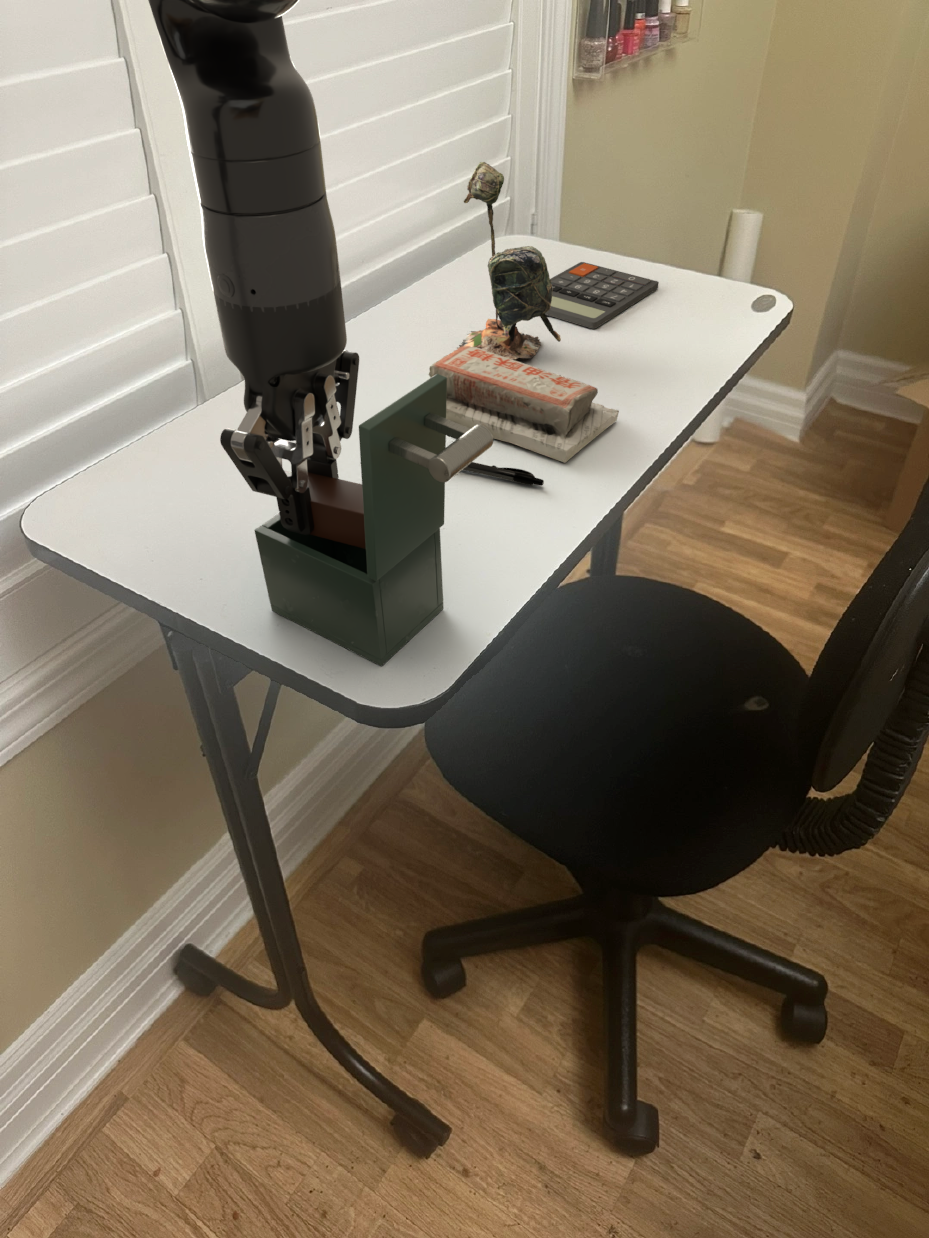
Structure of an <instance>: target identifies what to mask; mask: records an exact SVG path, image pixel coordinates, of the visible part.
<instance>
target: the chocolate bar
mask: <svg viewBox="0 0 929 1238" xmlns="http://www.w3.org/2000/svg"><path fill="white" fill-rule="evenodd" d="M307 474H308V485H307V486H308V487H309V489H310V496H311V501H310V503H311V509H312V515H313V522H314V529H313V531H312V532H311V533H310V535H314V536H317V537H321V538H325V539H329V540H333V541H337V542H341V543H345V544H348V545H352V546H356V547H360V548H364V549H366V543H365V526H364V509H363V492H362V483H358V482H353V481H349V480H345V479H341V478H338V479H337V478H330V477H326V476H322V475H317V474H313V473H309V472H307Z"/></svg>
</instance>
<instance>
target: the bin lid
mask: <svg viewBox="0 0 929 1238" xmlns="http://www.w3.org/2000/svg"><path fill="white" fill-rule="evenodd" d="M446 399H447V377H445V376H442V375H439V374H436V375H434V376H433V377H431V378H430V377H429V378H428V379H427V380H425V381H424V382H422V383H421V384H419V385H418V386H416V387H415V388H413V389H412V390H410V391H409V392H407V393H405V394H404V395H402V396H401V397H399V398H398V399H397V400H395V401H394V402H392V403H390V404H389V405H387V406H386V407H385V408H383V409H382V410H380V411H378V412H377V413H375V414H374V415H373V416H371V417H369V418H368V419H366V420H365V421H363V422H362V423H361V424H359V425H358V439H359V441H358V442H359V456H360V457H359V458H360V473H361V475H360V476H361V484H362V492H363V509H364V526H365V543H366V560H367V576H368V577H369V578H371V579H373V580H375V581H377V580H378V579H379V578H381V577H382V576H383V575H384V574H385V573H387V572H388V571H389V570H390V569H391V568H393V567H394V566H395V565H396V564H397V563H399V562H400V561H401V560H402V559H403V558H405V557H406V556H407V555H408V554H409V553H410V552H412V551H413V550H414V549H415V548H416V547H418V546H419V545H420V544H421V543H422V542H424V541H425V540H426V539H427V538H428V537H430V536H431V535H432V534H433V533H434V532H436V531H437V530H438V529H439V528H440V529H441V527H443V526H444V525H445V501H446V500H445V499H446V483H447V482H449V481H450V480H451V479H453V478H454V477H455V476H456V475H458V474H459V473H461V472H462V471H464V470H463V469H464V468H465V467H466V466H468V465H469V464H470V463H471V462H475V461H476V460H477V459H478V458H480V457H481V456H482V455H483V454H485V452H487V451H488V450H489V449H490V448H491V447H492V446H493V445H494V438H493V436H492V434H491V432H490V431H489V429H488V428H486V427H485V426H483V425H475V426H474V427H473V428H471V429H470V428H468V427H465V426H463V425H460V424H458V423H455V422H453V421H450V420H448V419H446ZM447 437H449V438H451V439H454V441H452V442H451V443H450V444H448V446H447Z"/></svg>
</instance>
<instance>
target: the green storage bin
mask: <svg viewBox="0 0 929 1238" xmlns="http://www.w3.org/2000/svg"><path fill="white" fill-rule="evenodd" d="M254 535H255V540H256V545H257V549H258V554H259V558H260V562H261V566H262V567H261V568H262V572H263V577H264V581H265V586H266V590H267V595H268V601H269V603H270V608H271V611H272V612H274V613H276V614H277V615H280V616H282V617H283V618H285V619H287V620H288V621H289V620H290V621H292V622H293V623H295V624H297V625H299V626H301V627H303V628H305V629H307V630H308V631H311V632H312V633H315V634H317V635H318V636H321V637H323V638H325V639H327V640H329V641H331V642H332V643H334V644H336V645H338V646H340V647H342V648H345V649H346V650H348V651H350V652H352V653H354V654H356V655H358V656H359V657H362V658H364V659H365V660H368V661H370V662H372V663H374V664H376V665H378V666H380V667H383V666H384V665H385V664H386V663H387V662H388V661H390V659H391V658H393V656H394V655H396V654H397V653H398V652H399V651H400V650H401V649H402V648H403V647H404V646H405V645H407V644H408V643H409V642H410V641H411V640H412V639H413V638H415V636H416V635H417V634H418V633H419V632H420V631H421V630H423V629H424V628H425V626H427V625H428V624H429V623H430V622H431V621H432V620H433V619H435V617H436V616H437V615H439V613H441V612H442V611H443V610H444V592H443V591H444V589H443V588H444V586H443V567H442V566H443V565H442V563H443V562H442V549H441V548H442V543H441V542H442V541H441V527H440V528H439V529H438V530H437V531H436V532H434V533H433V534H432V535H431V536H430V537H428V538H427V539H426V540H425V541H424V542H422V543H421V544H420V545H419V546H418V547H416V548H415V549H414V550H413V551H412V552H410V553H409V554H408V555H407V556H406V557H405V558H403V559H402V560H401V561H400V562H399V563H397V564H396V565H395V566H394V567H393V568H391V569H390V570H389V571H388V572H387V573H385V574H384V575H383V576H382V577H381V578H379V579H378V580H377V581H375V580H373V579H371V578H369V577H368V576H367V560H366V549H364V548H360V547H356V546H352V545H348V544H345V543H341V542H337V541H333V540H329V539H325V538H321V537H317V536H314V535H310V534H309V535H303V534H299V533H296V532H292V531H289V530H287V529H286V528H284V527H283V526H282V524H281V520H280V514H279V513H277V514H276V515H274V516H273V517H271V518H270V519H268V520H267V521H265V522H264V523H263V524H261V525H259V526H258V527H256V528H255V529H254Z"/></svg>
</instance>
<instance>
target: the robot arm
mask: <svg viewBox="0 0 929 1238" xmlns="http://www.w3.org/2000/svg"><path fill="white" fill-rule="evenodd" d="M147 2H148V4H149V8H150V11H151V14H152V16H153V17H152V18H153V21H154V23H155V27H156V30H157V33H158V36H159V40H160V43H161V46H162V49H163V53H164V55H165V58H166V61H167V64H168V67H169V70H170V73H171V75H172V78H173V81H174V84H175V87H176V90H177V94H178V97H179V101H180V106H181V109H182V115H183V120H184V128H185V136H186V142H187V147H188V152H189V158H190V165H191V169H192V173H193V177H194V183H195V188H196V193H197V197H198V198H197V199H198V201H199V210H200V216H201V217H200V218H201V219H200V220H201V234H202V243H203V249H204V255H205V260H206V265H207V269H208V274H209V279H210V284H211V289H212V294H213V299H214V303H215V304H214V305H215V308H216V314H217V318H218V322H219V329H220V333H221V337H222V343H223V347H224V352H225V355H226V357H227V359H228V360H229V362H231V363H232V364H233V366H234V367H235V368H236V369H237V370H238V371H239V372H240V374H241V375H242V377H243V379H244V380H243V381H244V393H243V407H244V410H245V412H246V413H245V415H244V416H243V418H242V420H241V422H240V424H239V425H238V427H237V429H234V428H229V427H226V428H223V430H222V431H221V433H220V437H219V440H220V445H221V447H222V448H223V450H224V451H225V453H226V454H227V456H228V458H229V459H230V460H231V462H232V463H233V465H234V466H235V468H236V469H237V471H238V472H239V473H240V475H241V476H242V478H243V479H244V481H245V483H246V484H247V485H248V487H249V488H250V489H251V491H252V492H255V493H259V494H262V495H267V496H271V497H275V498H276V503H277V508H278V514H280V520H281V524H282V526H283V527H284V528H286V529H287V530H289V531H292V532H296V533H299V534H303V535H309V534H310V533H311V532H312V531H313V529H314V522H313V515H312V509H311V503H310V501H311V496H310V489H309V487H308V486H307V485H308V474H307V472H309V473H313V474H317V475H322V476H326V477H330V478H337V479H340V477H339V470H338V469H339V468H338V462H337V460H338V458H339V457H340V455H341V453H342V444H341V441H342V439H344V440H349V439H350V438H351V436H352V434H353V433H352V432H353V428H354V427H353V426H354V417H355V408H356V399H357V388H358V379H359V377H358V376H359V369H360V355H359V353H358V352H355V351H351V350H347V349H346V347H347V342H348V336H347V335H348V334H347V328H346V318H345V309H344V299H343V291H342V290H343V289H342V282H341V271H340V262H339V256H338V255H339V253H338V245H337V237H336V230H335V226H334V220H333V215H332V213H331V208H330V205H329V199H328V193H327V187H326V186H327V185H326V179H325V177H326V176H325V169H324V160H323V159H324V158H323V151H322V144H321V143H322V141H321V131H320V125H319V118H318V114H317V113H318V112H317V109H316V105H315V100H314V97H313V94H312V91H311V89H310V87H309V85H308V84H307V83H306V81H305V80H304V78H303V77H302V75H301V74H300V73H299V71H298V70H297V68H296V67H295V65H294V62H293V60H292V56H291V54H290V50H289V46H288V41H287V36H286V35H287V34H286V31H285V25H284V19H283V15H285V14H286V13H288V12H289V11H290V10H291V9H293V8H294V7H295V6H296V5H297V3H299V2H300V0H148V1H147ZM338 404H339V406H340V411H339V408H338ZM283 460H286V461H288V462H289V463H290V470H291V471H288V470H284V467H283Z"/></svg>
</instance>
